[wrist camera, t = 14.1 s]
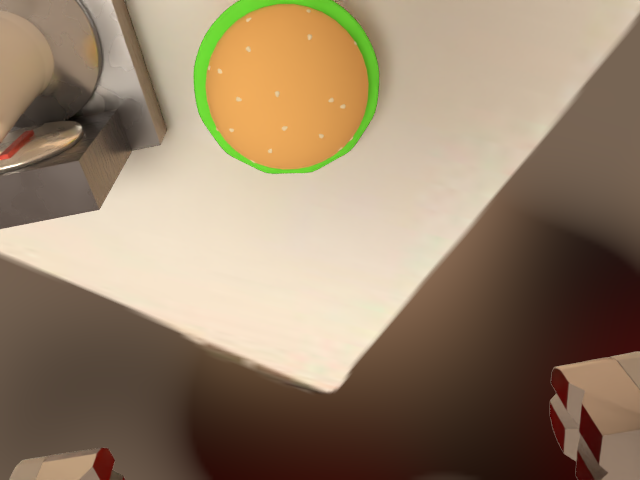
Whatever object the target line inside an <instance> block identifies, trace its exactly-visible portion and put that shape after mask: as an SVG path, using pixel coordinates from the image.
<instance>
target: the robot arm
mask: <svg viewBox="0 0 640 480" xmlns="http://www.w3.org/2000/svg"><path fill="white" fill-rule="evenodd" d="M551 384H552V386H553V388H554V389H555V391H556V395H555V396H554V397H553V398H552V399H551V400H550V418H551V423H552V428H553V431H554V434H555V436H556V439H557V442H558V443H559V445H560V447H561V449H562V451H563V453H564V454H565V455H567V456H569V457H570V458H572V459H573V460H575V461H576V474H575V475H576V477H577V479H578V480H640V352H633V353H628V354H623V355H618V356H612V357H609V358H608V357H606V358H600V359H595V360H590V361H584V362H579V363H574V364H568V365H563V366H558V367H554V369H553V371H552V373H551ZM114 462H115V459H114V457H113V455H112V454H111V452H110V450H109V449H108V448H96V449H89V450H83V451H76V452H69V453H63V454H56V455H50V456H46V457H40V458H33V459H26V460H22V461H21V462H20V463H19V464H18V465H17V466H16V467H15V469H14V471H13V473H12V475H11V477H10V479H9V480H125V478H124V476H123V475H121V474H119V473H117V472H115V471H113V470H112V469H113V465H114Z"/></svg>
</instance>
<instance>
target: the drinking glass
mask: <svg viewBox="0 0 640 480" xmlns="http://www.w3.org/2000/svg"><path fill="white" fill-rule="evenodd" d="M53 73H54V58H53V53H52V50H51V47H50V45H49V43H48V41H47V40H46V38H45V37H44V35H43V34H42V33H41V31H40V30H39V29H38V28H37V27H36V26H35V25H34V24H32V23H31V22H30V21H28V20H27V19H25V18H23V17H22V16H20V15H17V14H15V13H12V12H8V11H3V10H0V143H1V142H2V141H3V139H4V138H5V137H6V135H7V134H8V133H9V131H10V130H11V129H12V128H13V126H14V125H15V124H16V122H17V121H18V120H19V119H20V117H21V116H22V115H23V113H24V112H25V111H26V110H27V108H28V107H29V106H30V105H31V103H32V102H33V101H34V100H35V98H36V97H38V96H39V95H40V94H41V93H42V92H43V91H44V90H45V89H46V88H47V87H48V85H49V83H50V82H51V79H52V77H53Z"/></svg>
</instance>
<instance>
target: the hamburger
mask: <svg viewBox="0 0 640 480" xmlns="http://www.w3.org/2000/svg"><path fill="white" fill-rule="evenodd" d="M194 91H195V98H196V104H197V108H198V112H199V115H200V117H201V119H202V121H203V123H204V124H205V126H206V127H207V129H208V130H209V131H210V133H211V134H212V136H213V137H214V138H215V140H216V141H217V142H218V144H219V145H220V146H221V148H222V149H223V150H224V151H225V152H226V153H227V154H229V155H230V156H232V157H234V158H236V159H238V160H240V161H242V162H244V163H246V164H248V165H250V166H252V167H254V168H256V169H258V170H260V171H263V172H266V173H272V174H279V173H308V172H313V171H315V170H318V169H320V168H321V167H323V166H325V165H327V164H329V163H330V162H332V161H334V160H336V159H337V158H339V157H341V156H343V155H345V154H346V153H348V152H349V151H350V150H351V149H352V148H353V147H354V146H355V145H356V143H357V142H358V140H359V139H360V137H361V136H362V134H363V132H364V131H365V129H366V128H367V126H368V125H369V123H370V121H371V120H372V118H373V116H374V113H375V111H376V106H377V100H378V91H379V68H378V62H377V58H376V55H375V52H374V50H373V47H372V45H371V43H370V40H369V38H368V37H367V35H366V33H365V31H364V30H363V29H362V27H361V26H360V24H359V23H358V22H357V21H356V20H355V19H354V18H353V17H352V16H351V15H350V14H349V13H348V12H347V11H346V10H345V9H344V8H343V7H341V6H340V5H338V4H337V3H336V2H334V1H332V0H239V1H238V2H236V3H235V4H233V5H232V6H230V7H229V8H228V9H227V10H226V11H225V12H223V13H222V14H221V15H220V17H219V18H218V19H217V20H216V21H215V22H214V23H213V25H212V26H211V27H210V29H209V30H208V32H207V33H206V35H205V37H204V39H203V41H202V43H201V45H200V48H199V51H198V54H197V57H196V61H195V66H194Z"/></svg>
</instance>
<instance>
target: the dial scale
mask: <svg viewBox="0 0 640 480" xmlns="http://www.w3.org/2000/svg"><path fill="white" fill-rule="evenodd" d="M0 10H3V11H8V12H12V13H15V14H17V15H20V16H22V17H23V18H25V19H27V20H28V21H30V22H31V23H32V24H34V25H35V26H36V27H37V28H38V29H39V30H40V31H41V33H42V34H43V35H44V37H45V38H46V40H47V41H48V43H49V45H50V47H51V50H52V53H53V58H54V73H53V77H52V79H51V82H50V83H49V85H48V87H47V88H46V89H45V90H44V91H43V92H42V93H41V94H40V95H39V96H38V97H36V98H35V100H34V101H33V102H32V103H31V105H30V106H29V107H28V108H27V110H26V111H25V112H24V113H23V115H22V116H21V117H20V119H19V120H18V121H17V122H16V124H15V125H14V126H13V128H12V129H11V130H10V131H9V133H8V134H7V135H6V137H5V138H4V139H3V141H2V142H1V143H0V229H3V228H8V227H13V226H18V225H23V224H28V223H33V222H39V221H44V220H49V219H54V218H59V217H64V216H69V215H74V214H80V213H85V212H90V211H95V210H99V209H100V208H101V206H102V204H103V202H104V200H105V199H106V197H107V195H108V193H109V191H110V190H111V188H112V186H113V184H114V183H115V181H116V179H117V177H118V175H119V174H120V172H121V170H122V168H123V166H124V165H125V163H126V161H127V159H128V157H129V156H130V154H131V152H132V150H137V149H142V148H147V147H153V146H158V145H161V142H162V140H163V138H164V136H165V134H166V131H167V129H166V126H165V123H164V120H163V117H162V114H161V111H160V108H159V105H158V102H157V99H156V95H155V92H154V89H153V86H152V83H151V80H150V77H149V74H148V71H147V68H146V65H145V62H144V59H143V56H142V53H141V50H140V47H139V44H138V41H137V38H136V35H135V32H134V29H133V26H132V23H131V19H130V16H129V13H128V10H127V7H126V4H125V1H124V0H0Z"/></svg>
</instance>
